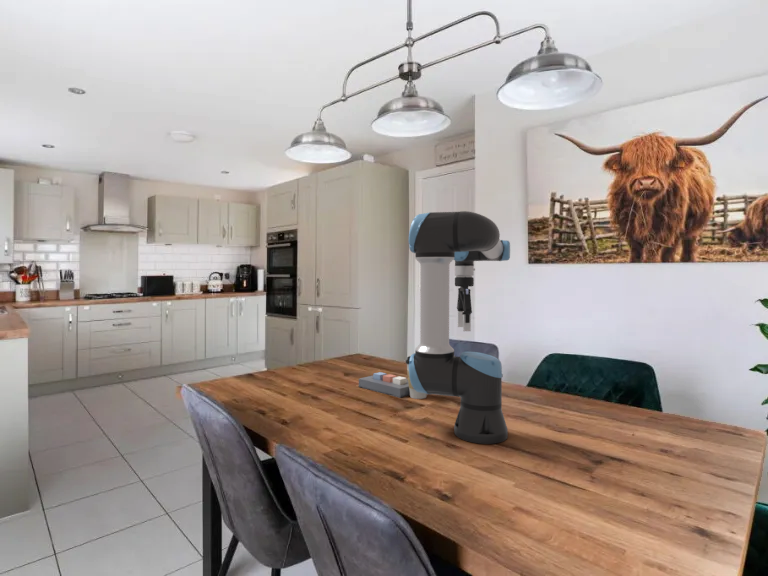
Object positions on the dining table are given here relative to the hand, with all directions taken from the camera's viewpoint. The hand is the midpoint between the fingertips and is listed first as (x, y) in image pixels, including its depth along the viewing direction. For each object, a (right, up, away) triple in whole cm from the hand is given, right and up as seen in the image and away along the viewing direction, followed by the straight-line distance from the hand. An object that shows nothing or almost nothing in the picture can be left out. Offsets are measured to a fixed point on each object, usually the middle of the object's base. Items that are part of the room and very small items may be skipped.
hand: (463, 329), depth 175 cm
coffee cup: (-19, -25, -10) cm, 33 cm away
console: (-30, -25, +1) cm, 39 cm away
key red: (-30, -22, +1) cm, 37 cm away
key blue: (-34, -22, +5) cm, 40 cm away
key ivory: (-26, -22, -3) cm, 34 cm away
